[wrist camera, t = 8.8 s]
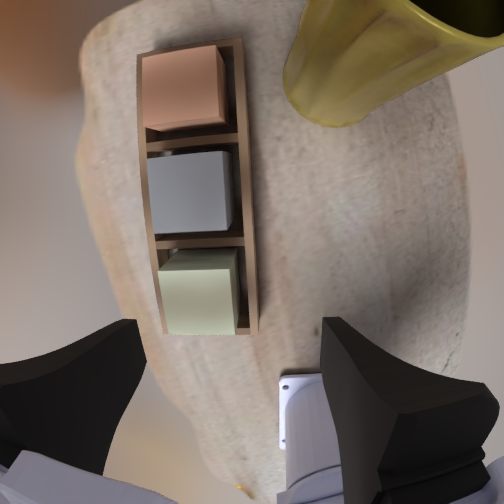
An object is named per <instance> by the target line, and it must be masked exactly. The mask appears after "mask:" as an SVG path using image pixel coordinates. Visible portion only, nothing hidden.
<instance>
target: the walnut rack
mask: <svg viewBox="0 0 504 504" xmlns="http://www.w3.org/2000/svg"><path fill="white" fill-rule="evenodd" d="M227 57H234V71H235V89H236V107H237V125H238V133H230V134H218V135H207V136H198V137H189V138H180V139H173V140H165V141H158V142H157V130H158V131H162V132H166V133H170V132H178V131H186V130H194V129H203V128H213V127H223V126H229V113H228V95H227V75H226V66H225V64H224V62H223V59H222V58H227ZM137 127H138V147H139V163H140V176H141V187H142V197H143V207H144V216H145V224H146V232H147V240H148V247H149V254H150V261H151V268H152V274H153V280H154V286H155V292H156V297H157V303H158V308H159V313H160V319H161V324H162V328H163V333H164V334H179V335H258V334H259V301H258V282H257V264H256V245H255V227H254V209H253V191H252V173H251V155H250V138H249V121H248V104H247V87H246V70H245V53H244V46H243V42H242V38H233V39H223V40H214V41H207V42H199V43H193V44H187V45H181V46H175V47H170V48H165V49H160V50H155V51H151V52H146V53H142V54H138V55H137ZM234 144H239V159H240V176H241V193H242V209H243V225H244V230H231V231H210V232H191V233H173V234H165V233H158V234H154V233H153V225H152V216H151V206H150V196H149V185H148V172H147V159H150V158H158V152H165V151H173V150H181V149H190V148H200V147H210V146H221V145H234ZM223 246H245V257H246V272H247V288H248V303H249V314H239V313H240V308H241V296H240V283H239V270H238V256H237V249H213V250H188V251H177V252H176V253H175V254H174V255H173V256H172V257H171V258H170V259H169V258H168V250H167V249H176V248H199V247H223Z"/></svg>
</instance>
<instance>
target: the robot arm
mask: <svg viewBox="0 0 504 504" xmlns="http://www.w3.org/2000/svg"><path fill="white" fill-rule="evenodd" d="M146 362H147V360H146V356H145V352H144V349H143V345H142V341H141V337H140V333H139V329H138V324H137V320H136V319H122V320H119V321H116V322H114V323H112V324H110V325H108V326H106V327H104V328H102V329H100V330H98V331H96V332H94V333H92V334H90V335H88V336H86V337H84V338H82V339H80V340H78V341H76V342H74V343H72V344H70V345H67V346H65V347H63V348H61V349H58V350H56V351H53V352H50V353H47V354H45V355H41V356H38V357H34V358H30V359H27V360H22V361H18V362H12V363H5V364H0V504H179V503H177V502H175V501H173V500H171V499H169V498H167V497H165V496H163V495H161V494H159V493H157V492H155V491H152V490H148V489H145V488H142V487H139V486H136V485H133V484H130V483H126V482H122V481H118V480H114V479H110V478H107V477H104V476H102V475H103V471H104V467H105V463H106V459H107V456H108V452H109V448H110V445H111V442H112V439H113V436H114V434H115V431H116V428H117V426H118V423H119V421H120V419H121V417H122V415H123V413H124V411H125V409H126V408H127V406H128V404H129V402H130V400H131V398H132V396H133V394H134V392H135V390H136V388H137V386H138V384H139V382H140V380H141V378H142V375H143V372H144V369H145V366H146ZM320 366H321V373H317V374H301V375H284V376H282V377H280V379H279V447H280V448H281V449H284V450H286V491H284V492H280V493H277V504H504V456H503V457H501V458H499V459H497V460H495V461H493V462H492V463H491V464H489V465H488V466H487V467H486V468H485V466H484V464H483V462H482V460H483V459H484V457H485V452H484V451H483V449H482V447H481V446H482V445H483V443H484V442H485V440H486V438H487V437H488V435H489V433H490V432H491V430H492V428H493V427H494V425H495V423H496V420H497V418H498V415H499V409H500V406H499V403H498V401H497V399H496V398H495V397H494V395H493V394H492V393H491V392H490V390H489V389H488V388H487V387H486V385H485V384H484V383H480V382H473V381H466V380H459V379H454V378H450V377H446V376H442V375H439V374H435V373H432V372H429V371H426V370H424V369H421V368H418V367H416V366H413V365H411V364H409V363H406V362H404V361H402V360H401V359H399V358H397V357H395V356H393V355H391V354H389V353H388V352H386V351H384V350H383V349H381V348H380V347H378V346H377V345H375V344H374V343H372V342H371V341H369V340H368V339H367V338H365V337H364V336H363V335H361V334H360V333H359V332H358V331H356V330H355V329H354V328H353V327H351V326H350V325H349V324H348V323H347V322H345V321H344V320H343V319H342V318H340V317H339V316H338V317H323V321H322V339H321V355H320ZM284 385H288V386H287V387H284Z"/></svg>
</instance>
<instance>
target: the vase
mask: <svg viewBox="0 0 504 504" xmlns="http://www.w3.org/2000/svg"><path fill="white" fill-rule="evenodd" d="M503 46H504V0H307V1H306V4H305V6H304V9H303V11H302V14H301V17H300V23H299V28H298V33H297V37H296V40H295V42H294V44H293V46H292V48H291V51H290V53H289V56H288V60H287V62H286V64H285V66H284V70H283V85H284V90H285V93H286V96H287V98H288V100H289V101H290V103H291V104H292V106H293V107H294V108H295V109H296V110H297V111H298V112H299V113H300V114H301V115H302V116H304V117H305V118H306V119H308V120H310V121H312V122H314V123H316V124H319V125H322V126H326V127H334V128H338V127H346V126H350V125H353V124H356V123H358V122H360V121H361V120H363V119H364V118H365V117H366V116H367V115H368V114H369V113H370V112H371V111H373V110H374V109H376V108H377V107H379V106H380V105H382V104H384V103H385V102H387V101H389V100H391V99H393V98H395V97H397V96H399V95H401V94H403V93H405V92H406V91H408V90H410V89H412V88H414V87H416V86H418V85H420V84H422V83H424V82H426V81H428V80H430V79H432V78H434V77H436V76H438V75H441V74H443V73H445V72H447V71H450V70H452V69H454V68H456V67H458V66H460V65H462V64H464V63H466V62H468V61H470V60H473V59H475V58H477V57H479V56H481V55H483V54H485V53H487V52H490V51H492V50H494V49H497V48H500V47H503Z"/></svg>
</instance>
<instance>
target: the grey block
mask: <svg viewBox="0 0 504 504" xmlns="http://www.w3.org/2000/svg"><path fill="white" fill-rule="evenodd" d="M147 172H148V185H149V196H150V206H151V216H152V225H153V233H154V234H158V233H176V232H196V231H217V230H227V229H228V228H229V226H230V225H231V223H232V221H233V220H234V218H235V205H234V188H233V171H232V154H231V153H228V152H224V151H215V152H203V153H193V154H183V155H174V156H166V157H158V158H150V159H147Z"/></svg>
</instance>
